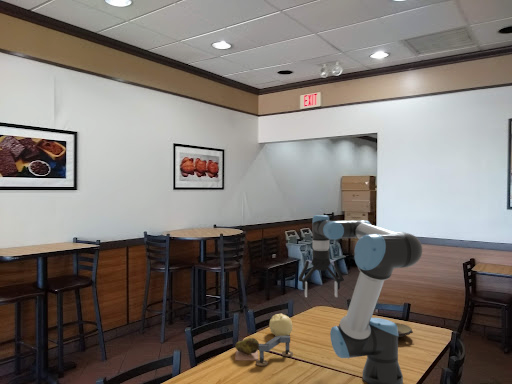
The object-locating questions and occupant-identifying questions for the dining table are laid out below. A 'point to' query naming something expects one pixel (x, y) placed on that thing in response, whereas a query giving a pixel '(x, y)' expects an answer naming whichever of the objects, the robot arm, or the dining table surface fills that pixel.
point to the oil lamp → (403, 330)
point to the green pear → (247, 346)
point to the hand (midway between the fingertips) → (321, 296)
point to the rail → (272, 344)
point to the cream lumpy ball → (280, 325)
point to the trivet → (246, 356)
